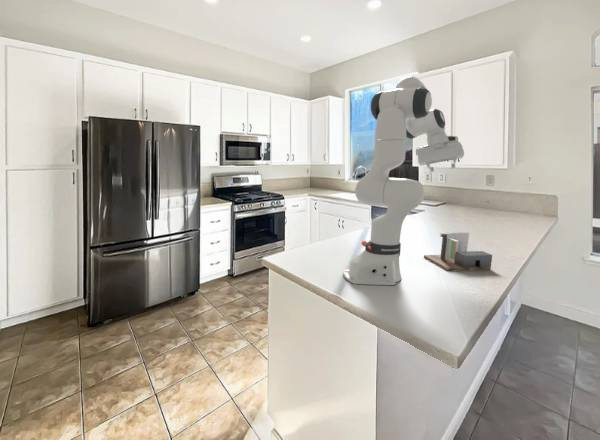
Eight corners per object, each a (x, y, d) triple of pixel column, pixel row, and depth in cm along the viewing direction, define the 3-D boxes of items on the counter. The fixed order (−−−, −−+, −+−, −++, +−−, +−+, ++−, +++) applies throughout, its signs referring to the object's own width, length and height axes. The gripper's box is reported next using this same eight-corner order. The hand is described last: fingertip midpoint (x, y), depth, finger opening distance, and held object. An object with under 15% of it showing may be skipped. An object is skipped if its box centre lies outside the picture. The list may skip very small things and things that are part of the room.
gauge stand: (447, 271, 133) (450, 245, 131) (423, 257, 152) (425, 234, 150) (490, 269, 136) (493, 244, 134) (462, 256, 155) (464, 234, 153)
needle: (441, 259, 145) (444, 234, 143) (440, 258, 146) (442, 233, 144) (444, 259, 145) (447, 234, 143) (443, 258, 146) (445, 233, 144)
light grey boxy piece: (451, 263, 138) (453, 238, 136) (435, 255, 149) (438, 232, 147) (481, 262, 140) (484, 237, 138) (464, 254, 151) (466, 232, 149)
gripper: (415, 145, 154) (419, 171, 150) (461, 135, 148) (467, 162, 144) (415, 150, 160) (419, 176, 156) (459, 142, 154) (465, 168, 150)
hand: (442, 169), depth 150 cm, fingers open, 8 cm apart
